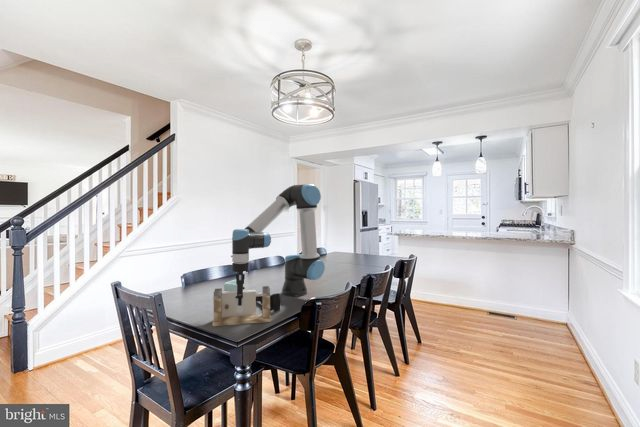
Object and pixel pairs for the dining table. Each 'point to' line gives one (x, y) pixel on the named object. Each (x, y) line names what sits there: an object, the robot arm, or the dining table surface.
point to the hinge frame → (235, 320)
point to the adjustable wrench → (272, 301)
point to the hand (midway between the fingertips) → (240, 307)
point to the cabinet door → (231, 303)
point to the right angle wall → (230, 286)
